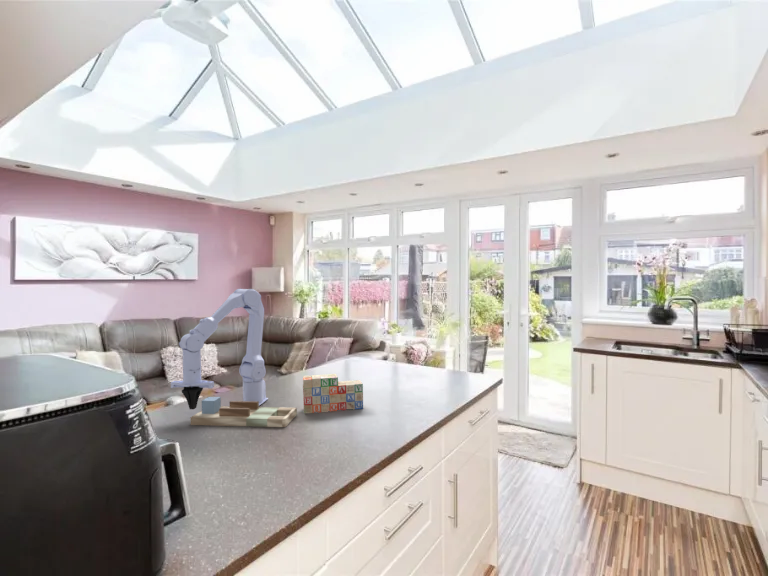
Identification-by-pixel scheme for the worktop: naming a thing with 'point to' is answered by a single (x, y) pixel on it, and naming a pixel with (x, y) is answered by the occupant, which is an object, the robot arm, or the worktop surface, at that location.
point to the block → (211, 405)
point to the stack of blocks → (331, 393)
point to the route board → (246, 415)
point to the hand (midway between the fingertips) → (193, 408)
